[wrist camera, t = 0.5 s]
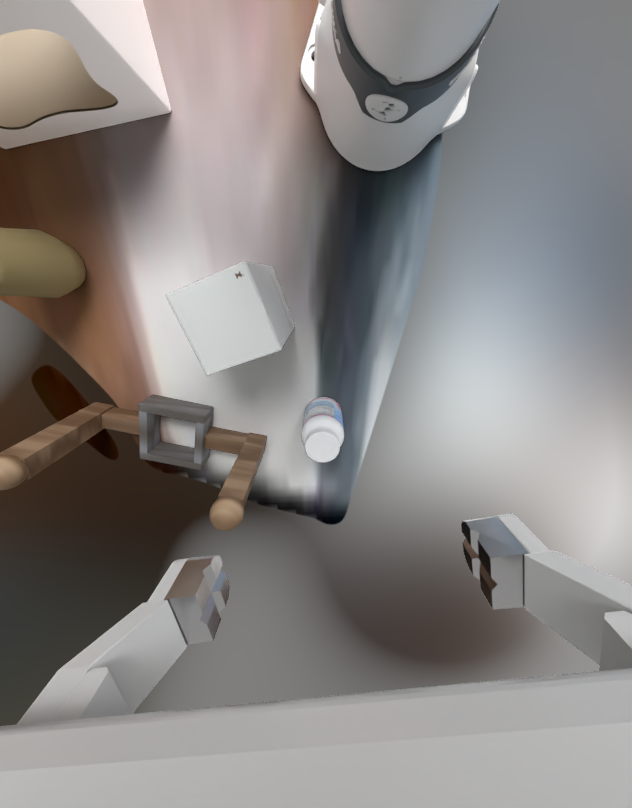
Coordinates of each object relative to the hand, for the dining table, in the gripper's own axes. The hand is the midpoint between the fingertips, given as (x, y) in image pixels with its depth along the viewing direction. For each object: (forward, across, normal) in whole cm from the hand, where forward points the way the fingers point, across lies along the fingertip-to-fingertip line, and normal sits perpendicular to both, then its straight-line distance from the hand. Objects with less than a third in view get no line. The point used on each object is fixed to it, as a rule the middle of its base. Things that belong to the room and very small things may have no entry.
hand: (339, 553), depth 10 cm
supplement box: (+37, +9, -11) cm, 39 cm away
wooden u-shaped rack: (+39, +27, +5) cm, 47 cm away
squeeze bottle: (+36, +34, -21) cm, 54 cm away
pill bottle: (+39, +2, +7) cm, 39 cm away
